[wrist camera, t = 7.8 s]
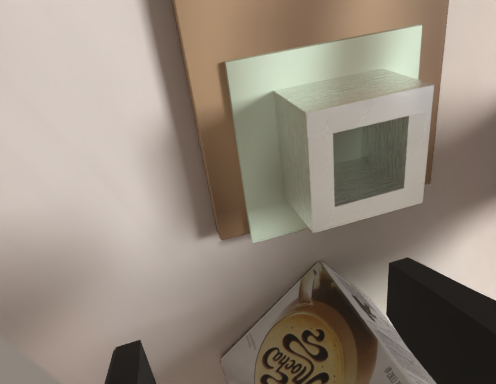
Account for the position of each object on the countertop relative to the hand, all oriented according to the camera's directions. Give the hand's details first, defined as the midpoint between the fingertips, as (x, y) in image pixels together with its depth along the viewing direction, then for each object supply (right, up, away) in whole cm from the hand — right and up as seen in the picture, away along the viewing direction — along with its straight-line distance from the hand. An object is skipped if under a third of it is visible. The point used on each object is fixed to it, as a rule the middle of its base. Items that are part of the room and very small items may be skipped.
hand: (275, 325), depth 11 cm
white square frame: (+3, +6, +8) cm, 11 cm away
